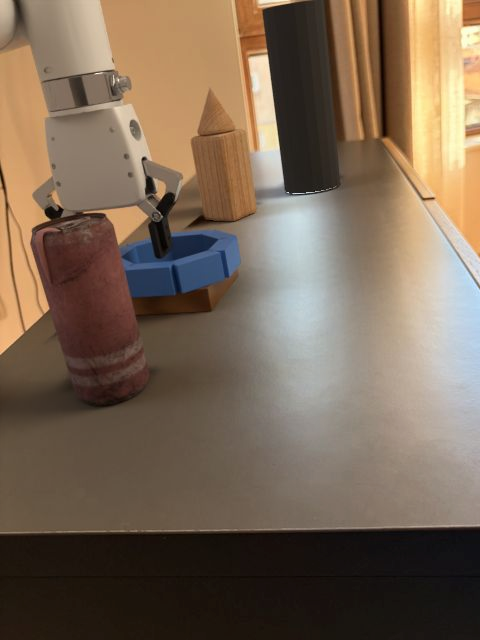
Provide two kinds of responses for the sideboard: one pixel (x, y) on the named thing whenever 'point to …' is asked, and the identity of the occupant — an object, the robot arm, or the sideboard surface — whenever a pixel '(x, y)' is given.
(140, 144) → the robot arm
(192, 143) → the decorative item
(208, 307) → the platform
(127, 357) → the can
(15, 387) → the sideboard surface
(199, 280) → the ring
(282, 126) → the vase
